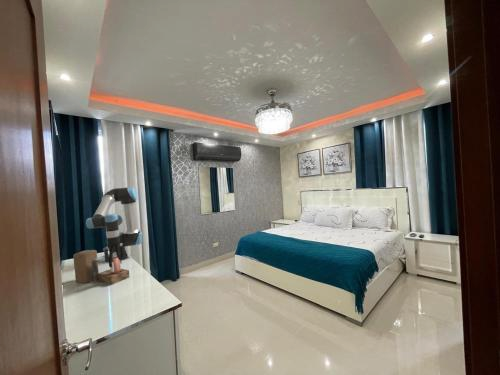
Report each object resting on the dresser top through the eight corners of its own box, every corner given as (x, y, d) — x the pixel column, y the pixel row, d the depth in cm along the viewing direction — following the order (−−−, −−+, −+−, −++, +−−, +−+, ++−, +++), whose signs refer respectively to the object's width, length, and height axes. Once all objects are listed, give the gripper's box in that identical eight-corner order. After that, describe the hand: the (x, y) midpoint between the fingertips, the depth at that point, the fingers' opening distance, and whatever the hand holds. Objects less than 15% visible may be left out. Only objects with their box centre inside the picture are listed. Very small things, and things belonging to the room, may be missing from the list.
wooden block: (87, 283, 151) (84, 254, 150) (75, 282, 153) (72, 254, 152) (99, 276, 160) (97, 249, 160) (88, 276, 162) (85, 249, 162)
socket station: (116, 272, 167) (115, 252, 166) (132, 276, 157) (130, 254, 157) (93, 281, 153) (91, 259, 152) (108, 286, 143) (106, 262, 143)
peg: (118, 276, 155) (116, 257, 155) (121, 277, 153) (119, 257, 153) (112, 279, 152) (110, 259, 152) (115, 280, 150) (113, 259, 150)
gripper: (122, 233, 161) (124, 265, 162) (96, 239, 147) (99, 274, 147) (128, 233, 158) (131, 266, 158) (102, 240, 143) (105, 275, 143)
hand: (115, 270), depth 153 cm, fingers closed on peg, 4 cm apart
